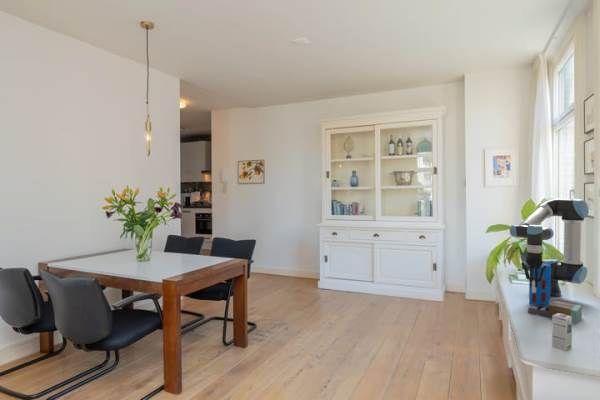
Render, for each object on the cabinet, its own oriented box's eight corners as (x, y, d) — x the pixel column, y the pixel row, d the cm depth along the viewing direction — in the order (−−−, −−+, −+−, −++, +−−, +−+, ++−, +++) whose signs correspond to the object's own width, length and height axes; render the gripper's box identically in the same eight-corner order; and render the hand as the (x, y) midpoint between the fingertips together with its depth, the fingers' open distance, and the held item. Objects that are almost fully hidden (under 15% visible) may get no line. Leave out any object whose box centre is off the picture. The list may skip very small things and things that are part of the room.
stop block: (575, 317, 203) (575, 304, 203) (581, 318, 202) (581, 305, 201) (570, 322, 195) (570, 309, 194) (576, 324, 193) (576, 310, 192)
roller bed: (533, 308, 217) (533, 303, 217) (575, 317, 203) (575, 311, 203) (528, 312, 210) (528, 307, 210) (570, 322, 195) (570, 316, 195)
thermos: (553, 307, 219) (554, 266, 218) (533, 306, 221) (534, 265, 220) (544, 302, 229) (546, 262, 229) (526, 301, 232) (527, 262, 231)
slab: (554, 307, 210) (554, 300, 210) (575, 311, 203) (575, 304, 203) (548, 312, 202) (548, 304, 202) (570, 316, 195) (570, 309, 195)
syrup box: (566, 351, 160) (567, 318, 160) (551, 346, 165) (552, 314, 164) (571, 348, 164) (572, 315, 163) (556, 343, 168) (557, 312, 168)
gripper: (519, 251, 214) (519, 291, 215) (545, 254, 204) (545, 296, 206) (523, 249, 219) (523, 288, 220) (549, 252, 210) (548, 293, 211)
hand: (533, 292), depth 213 cm, fingers closed
